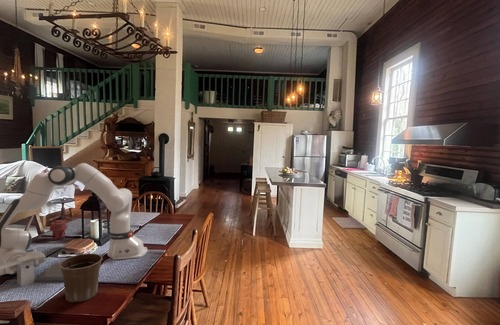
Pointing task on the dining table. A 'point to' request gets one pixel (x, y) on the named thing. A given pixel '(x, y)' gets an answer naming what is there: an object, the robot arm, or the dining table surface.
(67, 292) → the plant pot
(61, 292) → the dining table surface
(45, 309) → the dining table surface
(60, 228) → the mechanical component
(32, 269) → the off-white rectangular block
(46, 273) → the steel plate
